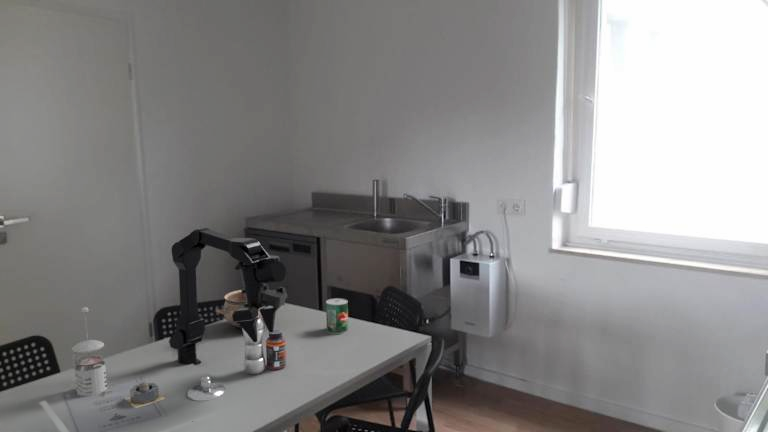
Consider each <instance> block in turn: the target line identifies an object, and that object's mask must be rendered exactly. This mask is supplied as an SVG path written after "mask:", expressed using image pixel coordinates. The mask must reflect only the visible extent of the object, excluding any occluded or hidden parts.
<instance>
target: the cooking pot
mask: <svg viewBox="0 0 768 432" xmlns="http://www.w3.org/2000/svg"><path fill="white" fill-rule="evenodd" d="M241 290H242V289H239V290H238V289H237V290H234V291H231V292H228V293H227V294H225V295H224V299H225V300H224V301H225V302H224V304H223V308H216V309H215V312H216V313H219V314H222V315H223V317H224V319H225V320H226V321H227V322H228V323H229V324H230V325H232V326H235V327H237V328H240V329H242V327H241V326H240V325H239V323H236V322H233V318H232V314H233V312H234V311H236V310H238V309H240V308H245V307H244V304H245V303H247V301H246V295H245V293H242V291H241ZM258 312H259V314H258V316H259V317H260V319H261V320H262V322H263V325H266V324H265V322H264V320H263V317H262V315H261V313H260V311H258Z"/></svg>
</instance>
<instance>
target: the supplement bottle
mask: <svg viewBox="0 0 768 432" xmlns="http://www.w3.org/2000/svg"><path fill="white" fill-rule="evenodd" d="M265 347H266V348H265V349H266V350H265V352H266V353H265V355H266V367H267V369H270V370H276V371H277V370H282V369H284V368H285V367H286V366H287V353H286V350H287V348H286V338H285V337H284V336H283V331H282V330H281V329H274V330H273V332H272V333H270V332H269V331H268V337H267V338H266V340H265Z"/></svg>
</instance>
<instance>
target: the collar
mask: <svg viewBox="0 0 768 432" xmlns="http://www.w3.org/2000/svg"><path fill="white" fill-rule="evenodd" d="M147 383H148V384H149V390H147V391H144V392H140V391H139V385H140V384H141V383H139V384H137V385H134V386H133V387H132V388H130V389H129V397H130V399H131V402H133V403H134V404H147V403H150V402H153V401H155V400H156V399H157V398H158V397H159V394H160V393H159V392H160V391H159V390H160V389H159V385H157V384H156V383H155V382H147Z"/></svg>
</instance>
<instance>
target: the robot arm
mask: <svg viewBox="0 0 768 432" xmlns="http://www.w3.org/2000/svg"><path fill="white" fill-rule="evenodd" d="M207 246H208V247H212V248H214V249H216V250H220V251H223V252H226V253H228V254H229V256H230V257H231V258H232V259H234V260H235V261H237V265H235V267H234V270H235V271H239V270H240V274H241V279H242V283H243V284H242V285H243V289H240V290H241V291H242V293H245V295H246V301H247V303H245V304H244V307H245V308H240V309H238V310H236V311H234V312H233V314H232V318H233V322H236V323H239V325H240V326H241V327H242V328H243V329H244V330H245V331H246V333H247V334H248V335H249V337H250V338H251V339H252V341H253V342H257V326H256V323H257V321H258V320H259V317H258V311H260V313H261V315H262V317H263V320H264V322H265V324H264V325H265V326H266V328H267V331H268V333H269V332H270V333H272V332H273V330H275V329H274V328H275V320H276V315H277V312H278V311H279V309H280V308H281V307H282V306H285V303H286V299H287V298H289V297H288V293H287V289H286V287H284V286H279V287H278V288H276V289H270V286H269V285H268V283H279V282H283V281H284V280H285V278H286V274H287V270H286V266H285V265H284V264H283V262H282V261H280V260H279V257H278V256H274V257H271V256H270V255H269V253H268V252H267V251H266V250H265V248H264V247H263V246H262V245H261V243H260V241H259V240H258V239H257V238H252V237H234V236H231V235H228V234H225V233H221V232H218V231H214V230H212V229H210V228H207V227H202V228H201V227H200V228H196V229H194V230H193V231H191V232H190V234H188V235H187V236H185V237H183V238H182V239H180V240H179V241H177V242H175V243H174V244H173V245H171V255H172V261H173V262H172V263H173V264H174V265H175V266H176V268H177V269H178V278H179V279H178V281H179V282H178V283H179V307H180V308H179V309H180V315H179V317H178V319H177V320H176V323H175V332H174V334H173V335H172V336H171V338H170V339H169V340H168V343H169V346H170V348H172V349H176V355H177V359H176V360H175V362H177V363H179V365H181V364H183V365H189V366H190V365H194V366H196V365H198V364H201V363H202V361H201V360H200V359H199V358H197V344H198V343H200V342H202V341H203V336H204V335H205V332H206V325H205V323H206V320H205V318H202V317H201V316H200V314H199V313H198V293H197V290H198V289H197V287H198V286H197V267H198V265H199V263H200V261H201V258H202V250H203V249H205V247H207ZM256 317H257V318H256ZM242 328H241V329H242Z"/></svg>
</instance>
